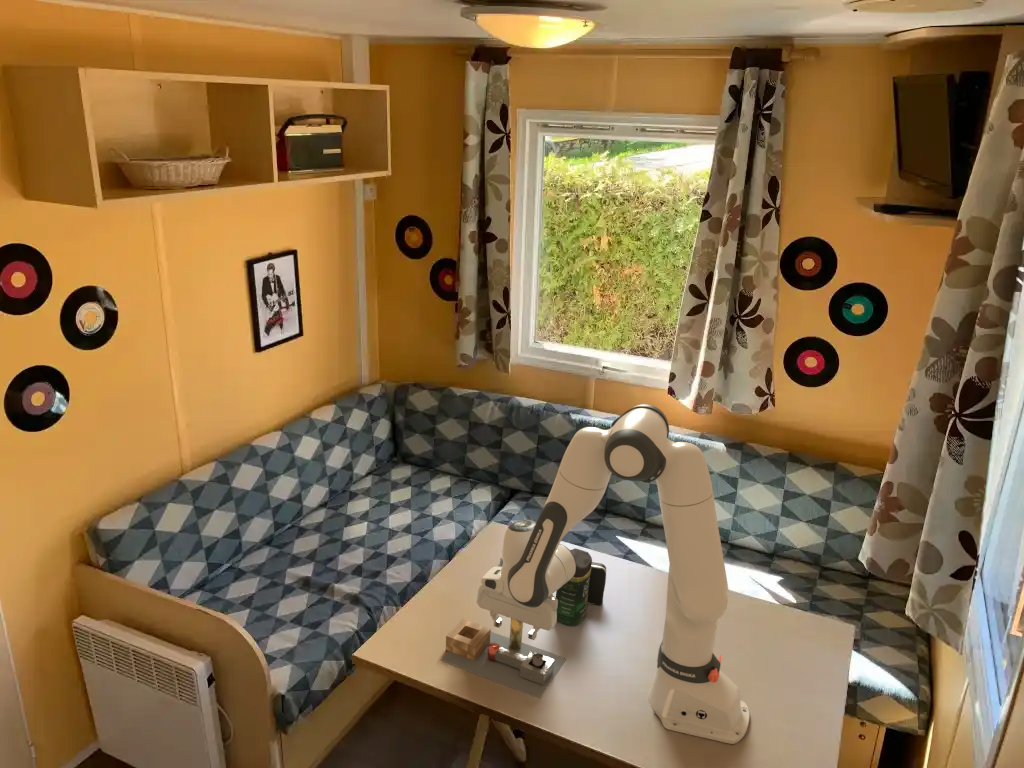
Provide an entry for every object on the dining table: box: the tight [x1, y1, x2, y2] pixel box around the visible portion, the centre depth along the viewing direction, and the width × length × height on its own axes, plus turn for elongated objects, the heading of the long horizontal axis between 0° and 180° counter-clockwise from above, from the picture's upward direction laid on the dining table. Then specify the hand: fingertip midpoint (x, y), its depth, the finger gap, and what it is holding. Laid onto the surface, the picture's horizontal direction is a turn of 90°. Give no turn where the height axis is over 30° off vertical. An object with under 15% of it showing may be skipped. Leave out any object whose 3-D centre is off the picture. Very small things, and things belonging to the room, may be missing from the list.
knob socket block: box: [488, 643, 554, 685], centre depth 186 cm, size 16×6×3 cm, turn 64°
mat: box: [440, 631, 568, 699], centre depth 189 cm, size 26×16×1 cm, turn 64°
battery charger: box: [587, 561, 607, 606], centre depth 214 cm, size 7×4×11 cm, turn 79°
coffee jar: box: [555, 548, 593, 627], centre depth 205 cm, size 10×8×19 cm
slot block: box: [445, 618, 492, 661], centre depth 193 cm, size 8×8×4 cm
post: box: [532, 653, 543, 669], centre depth 184 cm, size 2×2×5 cm
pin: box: [509, 618, 524, 650], centre depth 193 cm, size 3×3×9 cm
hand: (514, 632), depth 193 cm, fingers open, 8 cm apart
